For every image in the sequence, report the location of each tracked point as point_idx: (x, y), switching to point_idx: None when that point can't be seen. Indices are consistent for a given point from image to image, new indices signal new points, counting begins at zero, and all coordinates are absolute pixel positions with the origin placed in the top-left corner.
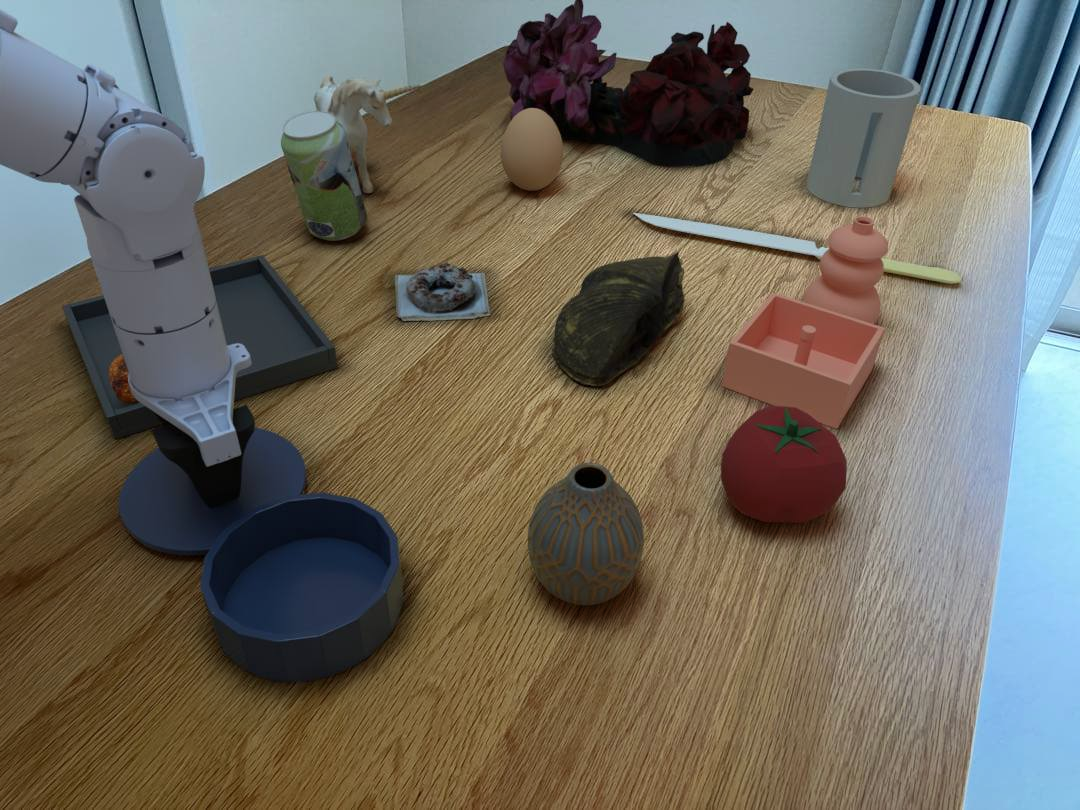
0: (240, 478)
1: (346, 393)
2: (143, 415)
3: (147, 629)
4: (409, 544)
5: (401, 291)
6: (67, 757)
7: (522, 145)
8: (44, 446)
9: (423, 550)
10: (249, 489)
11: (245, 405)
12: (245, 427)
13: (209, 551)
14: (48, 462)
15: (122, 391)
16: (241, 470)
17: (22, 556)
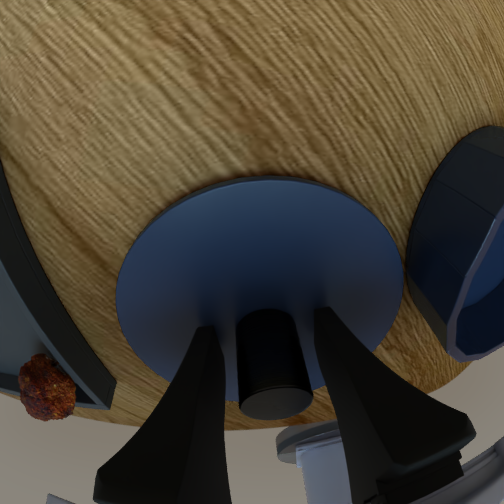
0: (350, 331)
1: (45, 62)
2: (92, 376)
3: (409, 357)
4: (483, 88)
5: None
6: (449, 373)
7: None
8: (124, 413)
9: (494, 80)
10: (309, 286)
11: (410, 468)
12: (472, 439)
13: (458, 360)
14: (147, 415)
15: (73, 405)
16: (362, 343)
17: (269, 424)
